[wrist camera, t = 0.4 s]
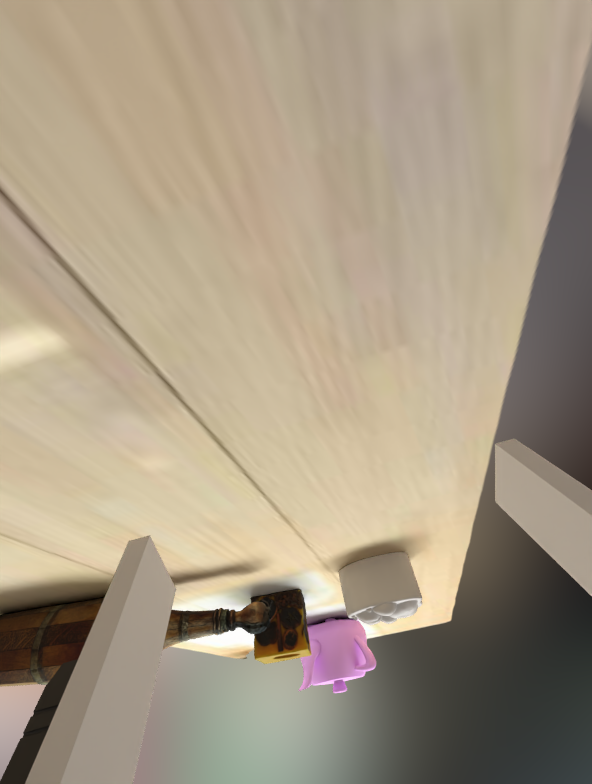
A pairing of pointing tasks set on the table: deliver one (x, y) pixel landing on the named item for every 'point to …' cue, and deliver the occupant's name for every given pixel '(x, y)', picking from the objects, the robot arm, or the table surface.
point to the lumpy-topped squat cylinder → (380, 588)
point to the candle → (283, 628)
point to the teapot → (336, 654)
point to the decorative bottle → (73, 624)
